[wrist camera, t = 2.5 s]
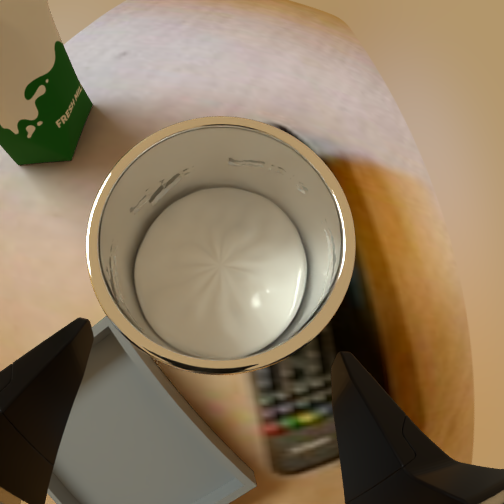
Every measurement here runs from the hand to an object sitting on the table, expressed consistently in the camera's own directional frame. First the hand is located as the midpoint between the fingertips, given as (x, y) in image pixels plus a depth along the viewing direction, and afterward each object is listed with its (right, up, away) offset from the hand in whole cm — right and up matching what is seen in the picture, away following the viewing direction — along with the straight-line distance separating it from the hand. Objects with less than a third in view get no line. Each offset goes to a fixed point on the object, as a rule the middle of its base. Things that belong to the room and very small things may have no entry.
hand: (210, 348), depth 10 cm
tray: (-9, -11, +7) cm, 16 cm away
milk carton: (-18, +15, +14) cm, 27 cm away
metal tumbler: (-1, 0, +11) cm, 12 cm away
